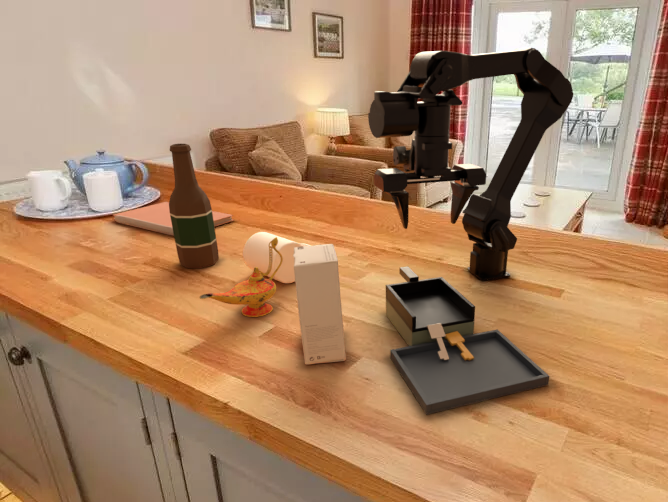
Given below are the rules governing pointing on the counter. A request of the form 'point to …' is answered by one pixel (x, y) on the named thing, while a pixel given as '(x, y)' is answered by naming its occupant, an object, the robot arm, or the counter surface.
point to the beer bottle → (191, 214)
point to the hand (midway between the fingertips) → (429, 225)
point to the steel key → (438, 339)
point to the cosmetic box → (319, 303)
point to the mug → (259, 256)
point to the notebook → (159, 218)
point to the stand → (423, 336)
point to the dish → (428, 302)
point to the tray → (466, 371)
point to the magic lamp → (252, 290)
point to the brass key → (459, 344)
